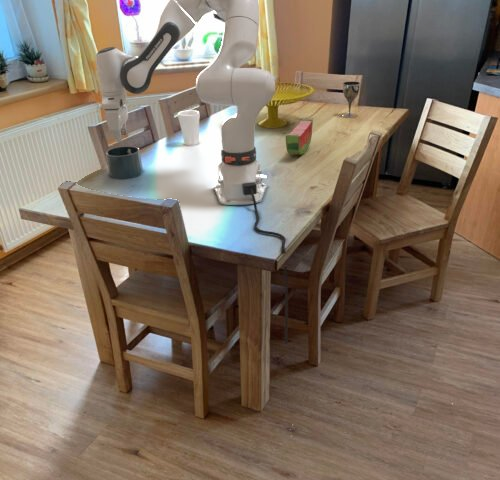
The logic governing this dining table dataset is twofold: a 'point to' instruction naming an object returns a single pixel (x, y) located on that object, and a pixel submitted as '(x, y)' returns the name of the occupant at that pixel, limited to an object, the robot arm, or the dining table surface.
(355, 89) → the wine glass
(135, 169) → the blue-grey round hollow container
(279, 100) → the cake stand
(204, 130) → the dining table surface
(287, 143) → the fruit slice
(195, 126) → the foam cup
